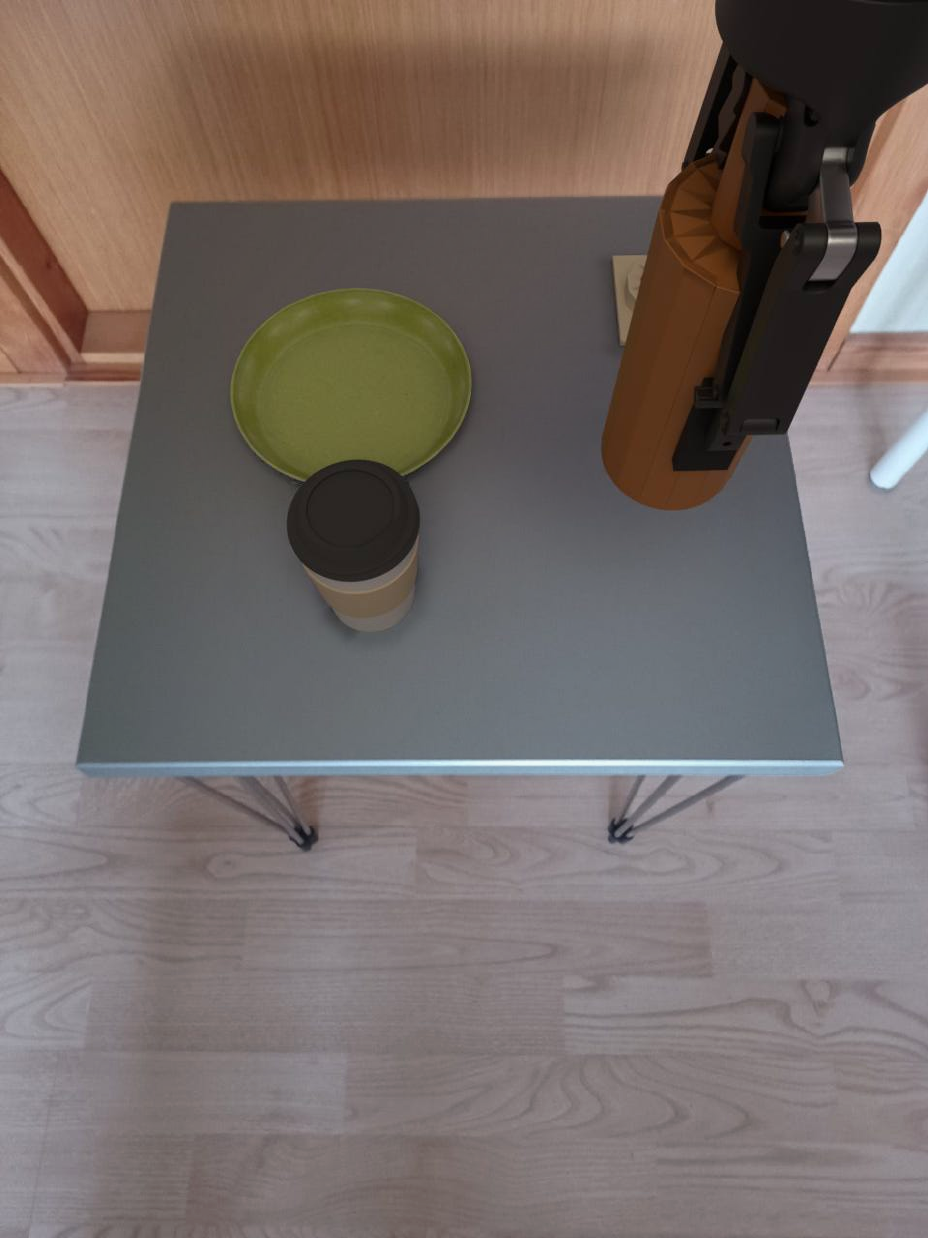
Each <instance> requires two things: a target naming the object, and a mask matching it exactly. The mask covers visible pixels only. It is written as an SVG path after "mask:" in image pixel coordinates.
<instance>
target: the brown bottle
mask: <svg viewBox="0 0 928 1238" xmlns="http://www.w3.org/2000/svg"><path fill="white" fill-rule="evenodd" d="M752 112H766V113H768V114H771V115H773V116H775V117H776V118H778V119H779V117H780V115H781V116H783V117H784V114H785V112H786V103H785V98H784V95H783V94H781V93H779V92H777V91H775V90H773V89H771V88H769V87H768V86H766V85H764V84H763V83H761V82H759V81H758V80H757V79H755V78H754V77H753V80H752V83H751V87H750V90H749V93H748V96H747V99H746V101H745V105H744V108H743V111H742V114H741V117H740V120H739V123H738V126H737V130H736V133H735V136H734V139H733V142H732V145H731V148H730V151H729V155H728V158H727V161H726V164H725V167H724V169H718V165H717V159H716V154H713V155H710V156H707V157H705V158H702V159H700V160H697V161H694V162H692V163H690V164H689V165H688V166H687V167H686V168H685V169H684V170H682V171H681V170H680V172H679V173H678V174H677V175H676V176H675V177H674V178H673V179H672V180H670V181H669V182H668V184H667V185H666V188H665V190H664V194H663V196H662V200H661V202H660V206H659V208H658V211H657V215H656V218H655V223H654V226H653V227H654V228H653V231H652V235H651V240H650V243H649V247H648V251H647V254H646V255H647V259H646V263H645V267H644V271H643V275H642V279H641V283H640V287H639V291H638V295H637V299H636V303H635V307H634V311H633V315H632V319H631V323H630V327H629V331H628V335H627V339H626V343H625V346H623V351H622V355H621V359H620V363H619V367H618V370H617V375H616V379H615V383H614V388H613V391H612V395H611V399H610V404H609V407H608V411H607V414H606V415H607V416H606V419H605V423H604V428H603V431H602V435H601V444H600V445H601V447H600V452H601V460H602V464H603V467H604V469H605V472H606V474H607V475H608V477H609V479H610V480H611V481H612V483H613V485H614V486H615V487H616V488H617V489H618V490H619V491H621V493H623V494H624V495H625V496H626V497H628V498H629V499H631V500H632V501H634V502H636V503H637V504H640V505H643V506H645V507H649V508H651V509H656V510H659V511H660V510H662V511H684V510H689V509H693V508H696V507H698V506H702V505H704V504H705V503H707V502H709V501H710V500H712V499H713V498H715V497H716V496H717V495H718V494H719V493H720V492H721V491H722V490H723V489H724V487H725V486H726V485H727V483H728V481H729V480H730V479H731V478H732V476H733V475H734V473H735V471H736V469H737V467H738V465H739V463H740V462H741V460H742V458H743V456H744V454H745V453H746V451H747V448H748V447H749V445H750V443H751V442H752V440H753V437H754V436H755V435H746V438H745V440H744V442H743V444H742V446H741V447H740V448H739V449H738V451H737V453H736V455H735V457H734V458H733V460H732V462H731V464H730V466H729V468H728V470H713V471H673V465H672V456H673V454H674V451H675V449H676V446H677V444H678V441H679V439H680V436H681V434H682V431H683V429H684V426H685V424H686V421H687V419H688V416H689V414H690V411H691V409H692V406H693V404H694V387H695V386H701V384H702V381H703V379H704V378H714V375H715V371H716V366H717V362H718V357H719V352H720V348H721V343H722V338H723V334H724V331H725V329H726V326H727V324H728V321H729V319H730V316H731V314H732V311H733V309H734V306H735V304H736V301H737V299H738V296H739V293H740V292H739V286H738V280H737V274H736V273H737V268H738V264H739V259H740V254H741V250H742V245H741V243H740V241H739V239H738V237H737V236H736V234H735V232H734V230H733V224H734V219H735V214H736V209H737V204H738V199H739V194H740V190H741V185H742V180H743V175H744V170H745V163H744V160H743V158H742V156H741V149H742V144H743V139H744V134H745V129H746V125H747V121H748V118H749V116H750V114H751V113H752ZM807 211H808V210H807ZM807 211H801V212H770V211H767V210H765V209H764V208H761V213H760V216H791V215H807Z"/></svg>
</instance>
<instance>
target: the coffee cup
mask: <svg viewBox="0 0 928 1238" xmlns="http://www.w3.org/2000/svg"><path fill="white" fill-rule="evenodd" d="M420 513H421V512H420V508H419V503H418V502H417V499H416V496H415V494H414V490H413V489H412V487H411V485H410V484H409V482H408V481H407V479H405V477H404V476H403V477H402V476H401V475H400V474H399V473H398V472H397V471H395V470H394V469H392V468H391V467H389V466H387V465H384V464H382V463H379V462H375V461H371V460H362V459H355V460H346V461H341V462H337V463H334V464H331V465H329V466H326V467H324V468H322V469H321V470H319V471H317V472H316V473H314V474H313V475H312V476H310V477H309V478H308V479H307V480H306V481H305V482H302V484H301V485H300V486H299V488H297V490H296V492H295V493H294V495H293V497H292V499H291V501H290V504H289V506H288V509H287V515H286V532H287V538H288V541H289V545H290V547H291V549H292V551H293V554H294V555H295V556H296V558H297V559H298V560H299V561H300V562H301V565H302V566H303V568H304V570H305V571H306V573H307V574H308V576H309V578H310V579H311V580H312V582H313V584H314V586H315V587H316V589H317V590H318V592H319V593H320V595H321V597H322V598H323V601H325V603H326V604H328V605H329V607H330V608H331V609H332V610H333V612H334V614H335V615H336V617H337V618H338V619H339V620H340V622H342V623H343V624H344V625H346V626H347V627H348V628H351V629H353V630H354V631H358V632H364V633H376V632H377V633H378V632H382V631H385V630H388V629H390V628H392V627H394V626H396V625H397V624H399V623H400V622H401V621H402V620H403V619H404V618H405V617H406V616H407V615H408V613H409V612H410V610H411V608H412V606H413V603H414V600H415V594H416V581H417V576H418V575H417V574H418V556H419V532H420V526H421V514H420Z"/></svg>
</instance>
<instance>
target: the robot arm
mask: <svg viewBox="0 0 928 1238" xmlns="http://www.w3.org/2000/svg"><path fill="white" fill-rule="evenodd" d="M714 16H715V25H716V27H717V31H718V34H719V36H720V39H721V41H722V42H721V46H720V48H719V52H718V55H717V57H716V61H715V64H714V67H713V70H712V72H711V76H710V79H709V81H708V85H707V88H706V91H705V94H704V98H703V100H702V103H701V106H700V109H699V113H698V115H697V118H696V121H695V123H694V126H693V127H694V128H693V130H692V134H691V136H690V139H689V142H688V145H687V148H686V152H685V153H684V159H683V161H682V162H681V165H680V172H681V171H682V170H684V169H685V168H686V167H687V166H688V165H689V164H690V163H692V162H694V161H697V160H700V159H702V158H705V157H707V156H710V155H713V154H716V159H717V165H718V169H724V167H725V164H726V161H727V158H728V155H729V151H730V148H731V145H732V142H733V139H734V136H735V133H736V130H737V126H738V123H739V120H740V117H741V114H742V111H743V108H744V105H745V101H746V99H747V96H748V93H749V90H750V87H751V83H752V80H753V77H754V78H755V79H757V80H758V81H759V82H761V83H763V84H764V85H766V86H768V87H769V88H771V89H773V90H775V91H777V92H779V93H781V94H783V95H784V98H785V103H786V112H785V114H784V117H783V116H781V115H780V117H779V119H778V118H776V117H775V116H773V115H771V114H768V113H766V112H752V113H751V114H750V116H749V118H748V121H747V125H746V129H745V134H744V139H743V144H742V149H741V156H742V158H743V160H744V163H745V170H744V175H743V180H742V185H741V190H740V194H739V199H738V204H737V209H736V214H735V219H734V224H733V230H734V232H735V234H736V236H737V237H738V239H739V241H740V243H741V245H742V250H741V254H740V259H739V264H738V268H737V273H736V274H737V280H738V286H739V292H740V293H739V296H738V299H737V301H736V304H735V306H734V309H733V311H732V314H731V316H730V319H729V321H728V324H727V326H726V329H725V331H724V334H723V338H722V343H721V348H720V352H719V357H718V362H717V366H716V371H715V375H714V378H704V379H703V381H702V384H701V386H695V387H694V404H693V406H692V409H691V411H690V414H689V416H688V419H687V421H686V424H685V426H684V429H683V431H682V434H681V436H680V439H679V441H678V444H677V446H676V449H675V451H674V454H673V456H672V465H673V471H713V470H728V468H729V466H730V464H731V462H732V460H733V458H734V457H735V455H736V453H737V451H738V449H739V448H740V447H741V446H742V444H743V442H744V440H745V438H746V435H754V436H771V435H772V436H776V435H777V436H781V435H787V432H788V431H789V429H790V426H791V424H792V421H793V420H794V417H795V416H796V413H797V411H798V409H799V407H800V405H801V402H802V400H803V399H804V397H805V396H804V395H805V393H806V391H807V389H808V387H809V384H810V382H811V381H812V378H813V376H814V374H815V371H816V369H817V367H818V364H819V362H820V360H821V358H822V356H823V354H824V351H825V349H826V346H827V344H828V342H829V341H830V338H831V336H832V333H833V331H834V329H835V327H836V325H837V323H838V320H839V318H840V316H841V313H842V311H843V309H844V307H845V305H846V302H847V300H848V298H849V296H850V293H851V291H852V289H853V288H854V287H855V285H856V284H857V283H858V281H859V280H860V279H861V277H863V275H864V274H865V273H866V271H867V270H868V269H869V268H870V266H871V265H872V264H873V262H874V261H875V260H876V258H877V256H878V255H879V252H880V249H881V245H882V240H883V236H882V235H883V230H882V227H881V224H880V223H879V221H855V220H854V219H855V218H854V212H853V203H852V194H851V193H852V192H851V187H853V185H854V184H855V183H856V182H857V181H858V179H859V178H860V176H861V174H862V172H863V169H864V167H865V164H866V162H867V161H866V160H867V156H868V152H869V147H870V144H871V142H872V138H873V135H874V131H875V129H876V126H877V121H878V120H879V119H880V118H881V117H882V116H883V115H884V114H886V112H888V111H889V110H890V109H891V108H893V107H894V106H896V105H897V104H899V103H900V102H901V101H903V100H905V99H906V98H908V97H909V96H911V95H912V94H914V93H916V92H918V91H920V90H921V89H922V88H924V87H925V86H927V85H928V0H715V1H714ZM710 150H711V151H710ZM708 151H710V152H708ZM761 208H764V209H765V210H767V211H770V212H801V211H807V210H808V211H807V215H791V216H760V213H761Z"/></svg>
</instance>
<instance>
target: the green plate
mask: <svg viewBox="0 0 928 1238" xmlns="http://www.w3.org/2000/svg"><path fill="white" fill-rule="evenodd" d="M229 390H230V391H229V393H230V394H229V395H230V396H229V397H230V407H231V411H232V415H233V418H234V422H235V424H236V426H237V428H238V430H239V432H240V434H241V436H242V437H243V439H244V441H245V442H246V444H247V445H248V446H249V447H250V448H251V450H252V451H253V452H254V453H255V454H256V455H257V456H258V457H259V458H260V459H261V460H262V461H263V462H265V463H266V464H268V465H269V466H270V467H272V468H273V469H275V470H276V471H278V472H279V473H282V474H284V475H286V476H288V477H290V478H292V479H294V480H297V481H299V482H302V483H304V482H305V481H306V480H307V479H308V478H309V477H310V476H312V475H313V474H314V473H316V472H317V471H319V470H321V469H322V468H324V467H326V466H329V465H331V464H334V463H337V462H341V461H346V460H355V459H362V460H371V461H375V462H379V463H382V464H384V465H387V466H389V467H391V468H392V469H394V470H395V471H397V472H398V473H399V474H400V475H401V476H402V477H403V478H404V477H405V476H407V475H409V474H411V473H413V472H415V471H417V470H418V469H419V468H421V467H423V466H424V465H426V464H427V463H429V461H431V460H432V459H433V458H435V457H436V456H437V455H438V454H439V453H440V452H441V451H443V449H444V448H446V446H447V445H448V444H449V443H450V441H451V440H452V439H453V438H454V437H455V435H456V433H457V432H458V430H459V428H460V427H461V426H462V424H463V421H464V419H465V417H466V414H467V411H468V409H469V405H470V401H471V397H472V369H471V365H470V360H469V357H468V355H467V352H466V350H465V347H464V345H463V344H462V341H461V340H460V338H459V336H457V334H456V332H455V331H454V330H453V329H452V327H451V326H450V325H449V324H448V323H447V322H446V321H445V320H444V319H443V318H442V317H441V316H439V315H438V314H437V313H436V312H434V311H433V310H432V309H430V308H428V307H427V306H426V305H424V304H422V303H420V302H418V301H416V300H415V299H412V298H409V297H408V296H405V295H402V294H398V293H395V292H391V291H387V290H382V289H376V288H368V287H367V288H366V287H349V288H338V289H332V290H326V291H322V292H318V293H315V294H312V295H309V296H306V297H303V298H301V299H298V300H296V301H294V302H292V303H290V304H288V305H286V306H284V307H283V308H281V309H280V310H278V311H277V312H275V313H274V314H272V315H271V316H270V317H268V318H267V319H266V320H265V321H264V322H262V324H261V325H260V326H259V327H257V329H256V330H254V332H253V333H252V334H251V335H250V337H249V338H248V340H247V341H246V342H245V344H244V345H243V347H242V349H241V351H240V352H239V355H238V357H237V359H236V361H235V365H234V367H233V371H232V374H231V380H230V389H229Z"/></svg>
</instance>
